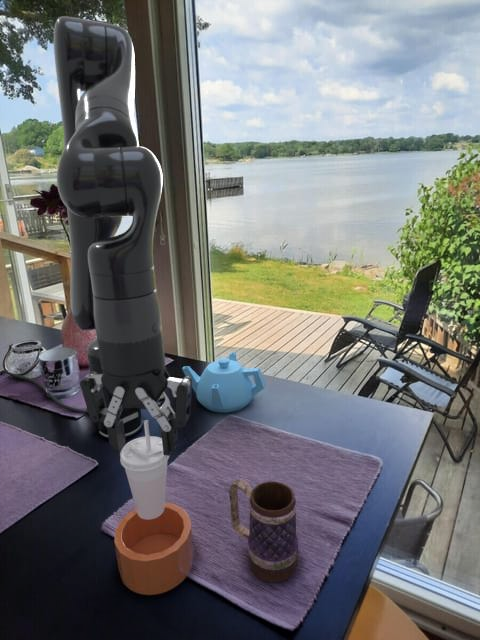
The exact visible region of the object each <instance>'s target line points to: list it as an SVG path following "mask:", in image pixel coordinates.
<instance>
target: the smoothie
mask: <svg viewBox="0 0 480 640" xmlns="http://www.w3.org/2000/svg"><path fill="white" fill-rule="evenodd" d="M143 427H144V436H140V437H137V438H133V439H132V440H130V441H128V442H127V443H125V445H124V447H123V448H122V450H121V451H120V452H119V456H120V458H119V461H120V465H121V466H122V467H123V468H124V469H125V470H124V471H125V474H126V478H127V481H128V484H129V489H130V492H131V496H132V499H133V502H134V503H133V504H134V506H135V509H136V510H137V514H138V516H139V517H140V518H142V519H146V520H150V519H155V518H157V517H159V516H160V515H161V514H162V513H163V512H164V509H165V503H166V493H167V490H166V489H167V475H168V460H169V459H170V456H167V455H164V454H163V444H162V437H160V436H156V435H155V436H154V435H150V425H149V420H148V419H145V420H143Z"/></svg>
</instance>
